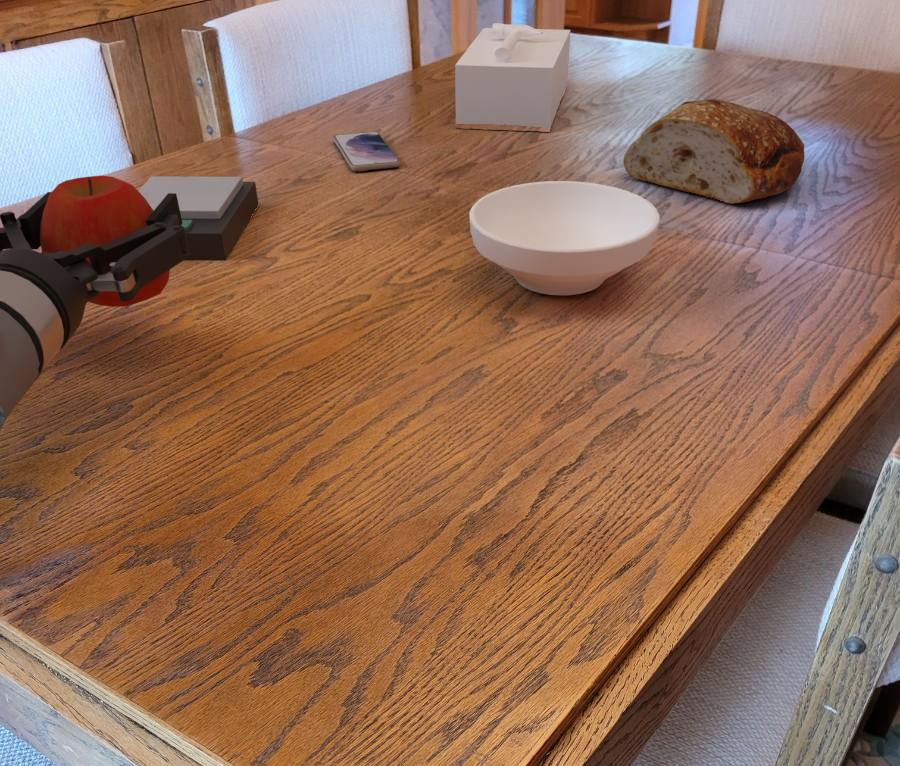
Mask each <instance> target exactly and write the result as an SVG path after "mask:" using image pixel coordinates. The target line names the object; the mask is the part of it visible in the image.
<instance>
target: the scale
mask: <svg viewBox="0 0 900 766" xmlns="http://www.w3.org/2000/svg"><path fill="white" fill-rule="evenodd" d="M138 191H139V192H140V193H141V195H142V196H143V197H144V198H145V199H146V200H147V202H148V203H149V205H150V206H151V208H152V209H153V211H154V210H155V209H156V207H157V206H158V205H159V204H160V203H161V201H162V200H163V199H164V198H165V197H166V195H167V194H168V193H176V195H177V199H178V204H179V209H180V213H181V218H182V223H183V224H182V225H181V226H183V227H184V230H185V234H186V239H187V244H188V248H189V253H190V256H189V257H188V258H186V259H185V260H198V259H215V260H214V261H226V260H227V258H228V257H229V255H230V254H231V252H232V250H233V249H234V247H235V246H236V244H237V242H238V241H239V239H240V238H239V237H241V236H242V234H243V233H244V231H245V229H246V228H247V226H248V225H247V223H248V221H249V220H250V218H251V216H252V214H253V213H254V211H255V209H256V208H257V206H258V204H259V197H258V192H257V191H258V190H257V185H256V181H244V180H243V177H242V176H177V175H175V176H174V175H173V176H169V175H167V176H165V175H164V176H161V175H160V176H157V175H156V176H154V175H153V176H150V177H149V178H148V180H147V181H146V182H145V183H144V184H143V185H142V186H141V187H140V188H139V189H138ZM259 205H260V204H259ZM257 209H258V208H257ZM254 214H255V213H254ZM252 217H253V216H252ZM251 219H252V218H251ZM250 221H251V220H250ZM250 221H249V222H250ZM248 224H249V223H248ZM246 225H247V226H246ZM245 227H246V228H245ZM244 228H245V229H244ZM243 230H244V231H243ZM242 232H243V233H242ZM241 233H242V234H241ZM240 235H241V236H240ZM237 240H238V241H237ZM217 259H218V260H217ZM220 259H221V260H220Z"/></svg>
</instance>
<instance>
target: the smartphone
mask: <svg viewBox="0 0 900 766" xmlns="http://www.w3.org/2000/svg"><path fill="white" fill-rule="evenodd" d="M332 140H333V141H334V144H335V145H336V146H337V148H338V150H339V151H340V153H341V154H342V156H343V158H344V160H345V162H346V163H347V165H348V166H349V168H350V170H351V171H353V172H355V171H358V172H366V171H370V170H381V169H391V168H392V169H393V167H394V168H399V166H401V161H400V159H399V158H398V156H397V155H396V154H395V153H394V151H393V150H392V149H391V147H390V145H388V143H387V142H386V141H385V140H384V138H383V137H382V135H381V134H380V133H379V132H378V131H369V132H367V131H366V132H357V133H356V132H354V133H342V134H341V133H340V134H335V135H333V136H332Z"/></svg>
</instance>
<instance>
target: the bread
mask: <svg viewBox="0 0 900 766" xmlns="http://www.w3.org/2000/svg"><path fill="white" fill-rule="evenodd" d="M804 162H805V144H804V142H803V141H802V139H801V137H800V136H799V135H798V133H797V132H796V131H795V130H794V128H792V126H790V125H789V124H788V123H787V122H786V121H784V120H783V119H781V118H779V117H778V116H776V115H774V114H771V113H770V112H767V111H763V110H760V109H755V108H751V107H747V106H744V105H741V104H738V103H736V102H735V103H734V102H730V101H726V100H723V99H717V98H708V99H699V100H691V101H684V102H682V103H681V104H680V105H678V106H677V107H676V108H674V109H673V110H671V111H670V112H668V113H666V114H665V115H664V116H662V117H661V118H659V119H658V120H656V121H654V122H652V123H651V124H650V125H649V126H647V127H646V128H645V129H644V130H643V131H642V132H641V134H640V136H639V137H638V138H637V139H636V140H635V141H633V142H632V143H631V144H630V145H629V146H628V148H627V149H626V151H625V154H624V156H623V167H624V169H625V172H626V174H627V175H628V176H629V177H631V178H634V179H637V180H639V179H640V180H639V181H643V182H646V181H648V182H647V183H650V182H651V183H650V184H654V183H655V184H654V185H658V186H663V187H666V188H667V187H668V188H671V189H675V190H679V191H683V192H687V193H690V192H691V193H690V194H694V193H695V194H694V195H698V194H699V195H698V196H702V195H703V196H702V197H705V196H706V198H709V197H710V198H709V199H712V198H714V199H713V200H715V199H717V200H716V201H718V200H720V201H719V202H721V201H723V202H722V203H726V204H741V203H748V202H751V201H755V200H760V199H764V198H768V197H771V196H775V195H779V194H782V193H783V192H784V193H785V191H787V190H789V189H790V188H792V187H793V186H794V185H795V184H796V183H797V181H798V179H799V177H800V175H801V173H802V170H803V165H804Z"/></svg>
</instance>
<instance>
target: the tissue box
mask: <svg viewBox="0 0 900 766" xmlns="http://www.w3.org/2000/svg"><path fill="white" fill-rule="evenodd" d="M570 44H571V29H555V28H554V29H553V28H551V29H550V28H549V29H548V28H534V27H532V26H530V25H528V24H510V23H509V24H508V23H507V24H506V23H501V22H500V23H495V22H494V23H492V27H483V28H482V30H481V31H480V32H479V34H478V35H477V36H476V38H475V39H474V40H473V42H472V43H471V44H470V45H469V47H468V48H467V49H466V50H465V52H464V53H463V54H462V55H461V56H460V58H458V60H457V62H456V63H455V65H454V85H455V86H454V88H455V89H454V90H455V91H454V92H455V95H454V97H455V100H454V101H455V125H456V124H497V125H500V124H501V125H504V124H506V125H521V126H533V127H545V128H550V126H551V123H552V121H553V118H554V115H555V113H556V110H557V108H558V105H559V103H560V100H561V98H562V95H563V93H564V90H565V88H566V85H567V86H568V75H569V61H570V59H569V58H570Z"/></svg>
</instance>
